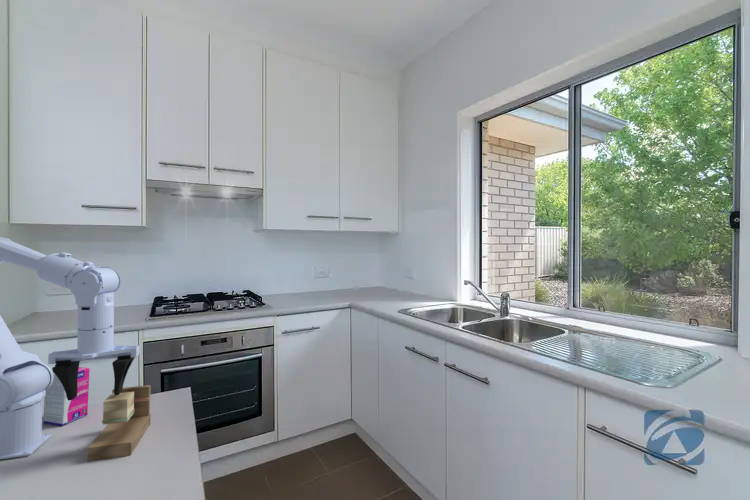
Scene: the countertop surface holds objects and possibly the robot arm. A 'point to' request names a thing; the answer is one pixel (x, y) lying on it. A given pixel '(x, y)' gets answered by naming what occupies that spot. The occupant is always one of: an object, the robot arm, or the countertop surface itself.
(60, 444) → the countertop surface
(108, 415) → the green-banded taupe cube
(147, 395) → the walnut base
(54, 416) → the supplement box
